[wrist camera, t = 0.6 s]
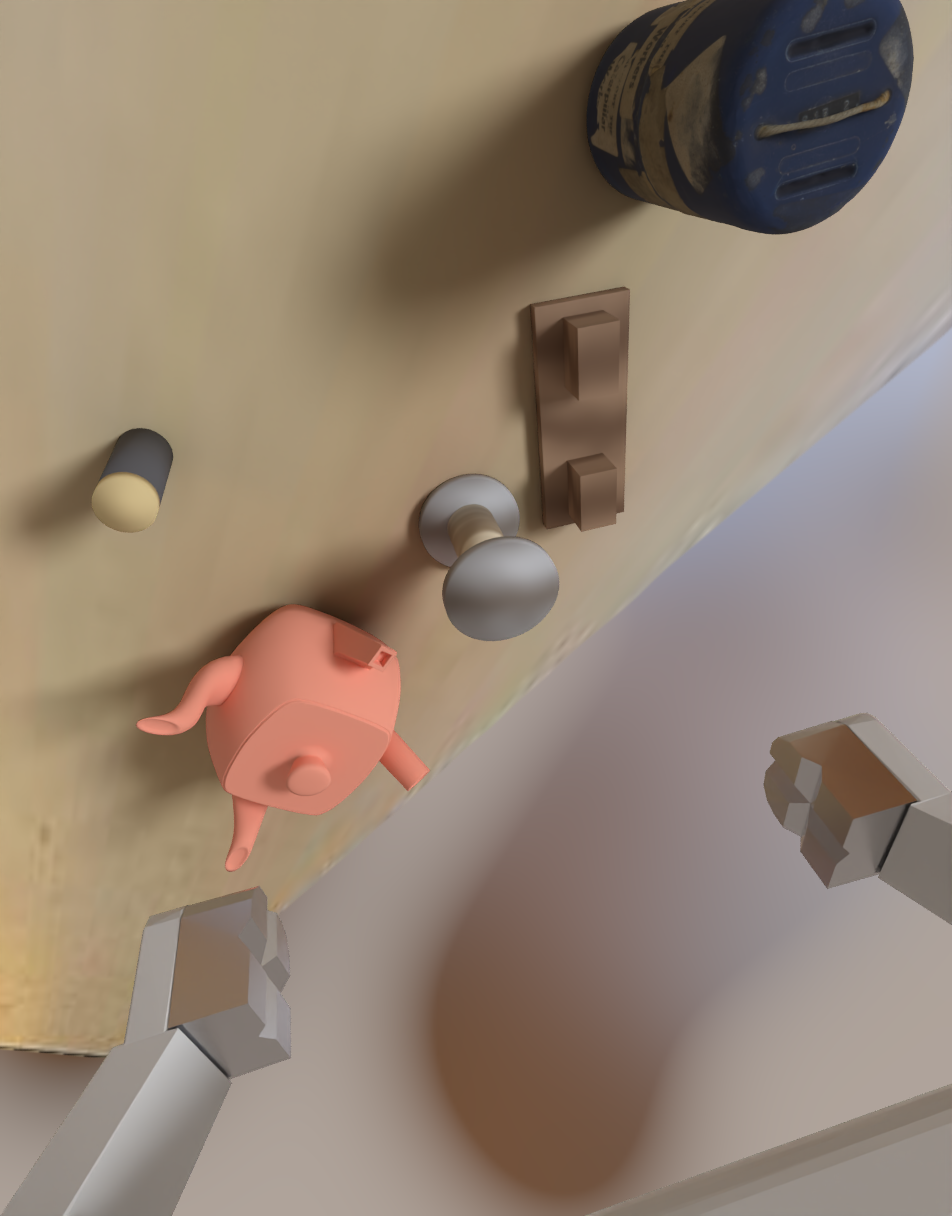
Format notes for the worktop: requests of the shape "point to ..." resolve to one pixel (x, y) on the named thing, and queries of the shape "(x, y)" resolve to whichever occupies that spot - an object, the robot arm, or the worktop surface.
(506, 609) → the bobbin
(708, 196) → the canister
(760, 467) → the worktop surface
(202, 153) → the worktop surface
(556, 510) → the board
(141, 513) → the cylinder
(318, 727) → the teapot
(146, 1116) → the robot arm
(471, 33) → the worktop surface
